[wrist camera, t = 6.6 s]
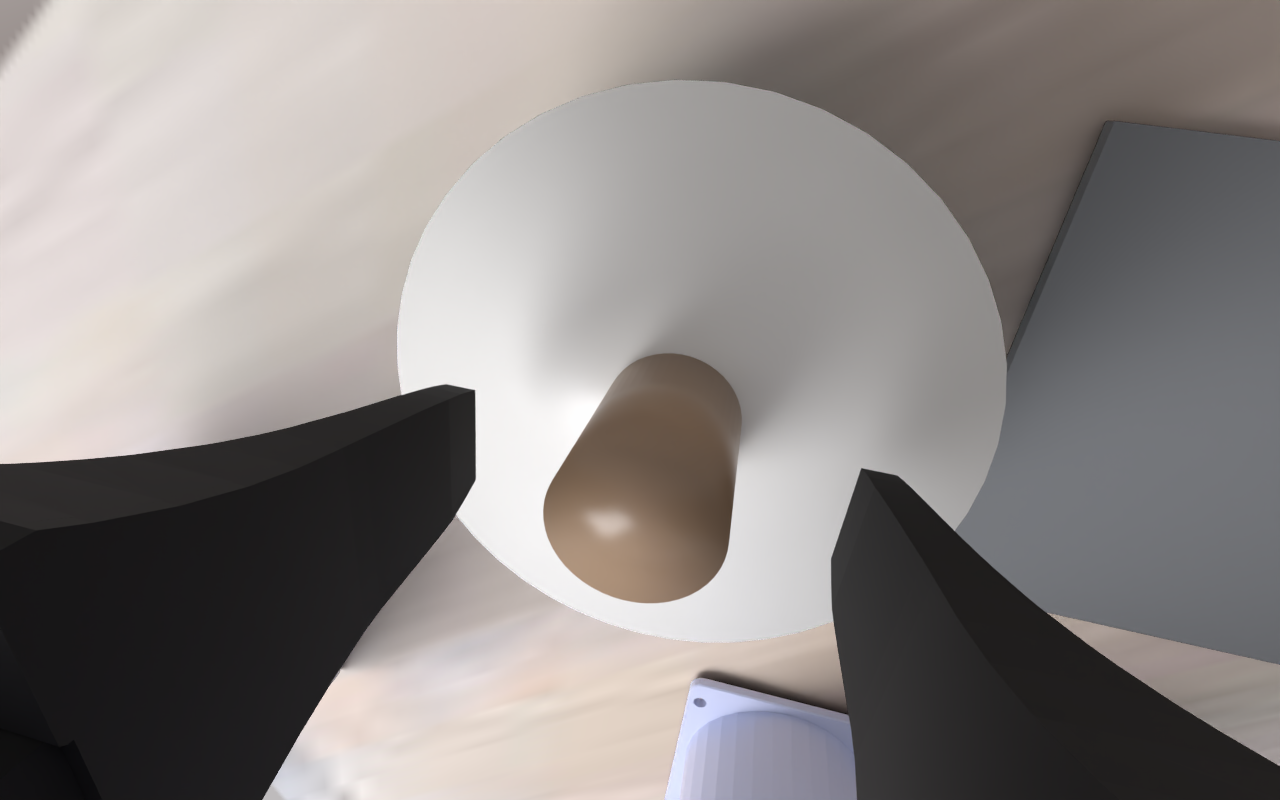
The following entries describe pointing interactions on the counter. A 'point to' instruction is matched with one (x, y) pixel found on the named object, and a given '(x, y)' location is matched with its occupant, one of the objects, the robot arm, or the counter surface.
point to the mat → (1150, 400)
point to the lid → (700, 351)
